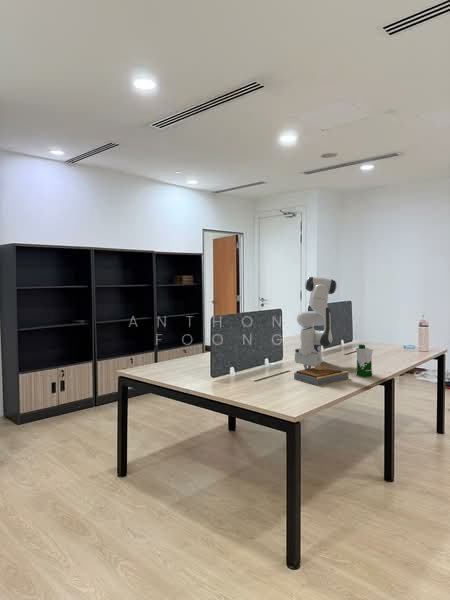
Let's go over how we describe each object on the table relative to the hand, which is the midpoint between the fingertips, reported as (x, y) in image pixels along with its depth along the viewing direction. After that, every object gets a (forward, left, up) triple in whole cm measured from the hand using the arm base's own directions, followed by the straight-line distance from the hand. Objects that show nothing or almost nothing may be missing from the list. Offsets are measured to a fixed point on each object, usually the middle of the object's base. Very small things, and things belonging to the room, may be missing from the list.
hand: (307, 371), depth 278 cm
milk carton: (+24, +28, -3) cm, 37 cm away
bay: (+11, 0, -3) cm, 12 cm away
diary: (+11, -1, -3) cm, 12 cm away
